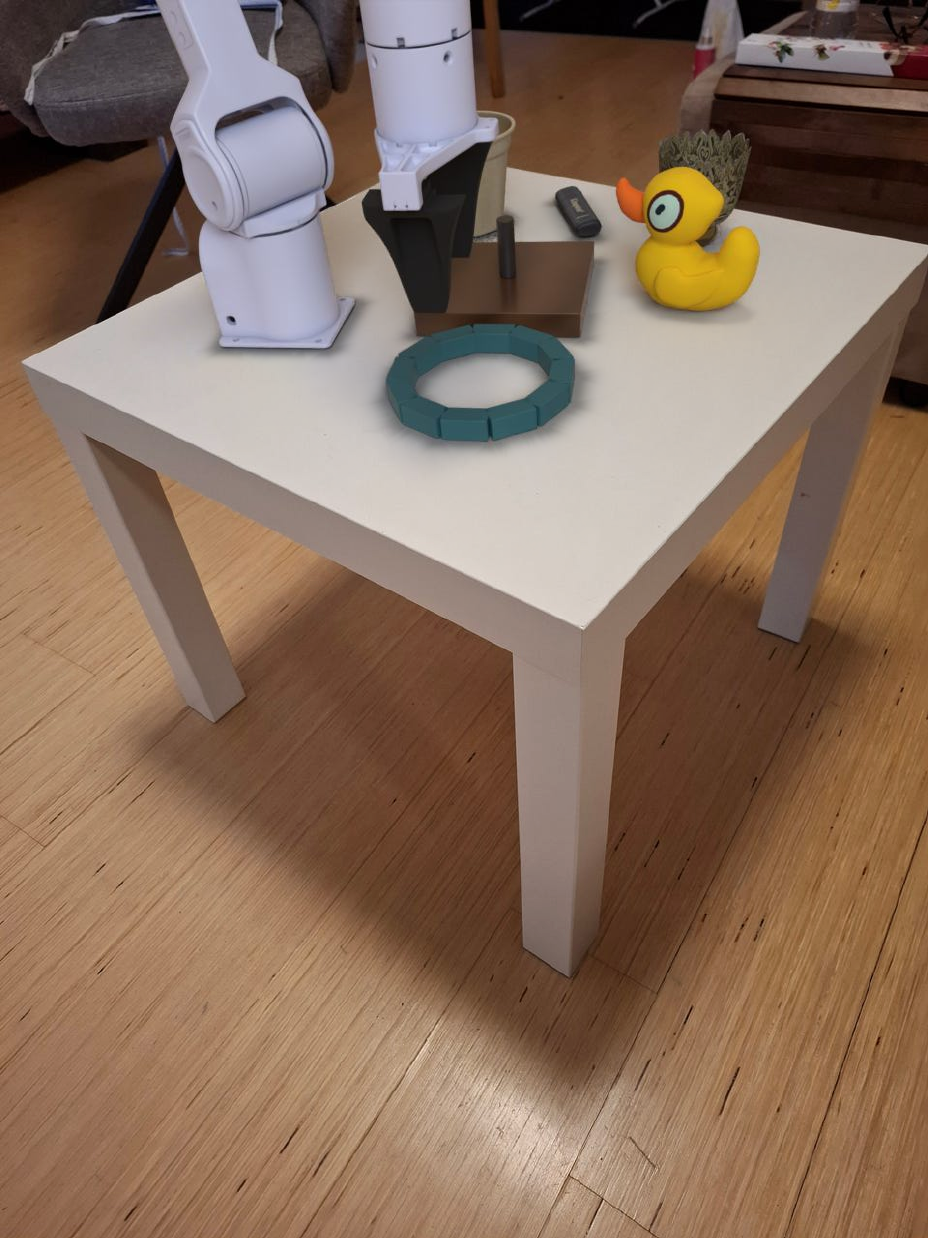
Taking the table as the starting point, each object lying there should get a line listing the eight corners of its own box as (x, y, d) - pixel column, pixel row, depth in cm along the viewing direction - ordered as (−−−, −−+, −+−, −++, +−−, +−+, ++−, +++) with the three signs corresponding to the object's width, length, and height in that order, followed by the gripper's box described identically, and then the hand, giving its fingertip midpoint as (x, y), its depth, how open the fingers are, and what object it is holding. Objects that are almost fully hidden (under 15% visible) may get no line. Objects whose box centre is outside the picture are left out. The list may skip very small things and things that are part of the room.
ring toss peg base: (416, 336, 70) (405, 255, 65) (448, 264, 78) (440, 188, 74) (580, 337, 67) (581, 253, 63) (594, 263, 76) (595, 184, 71)
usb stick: (553, 202, 86) (553, 186, 85) (579, 199, 86) (579, 182, 85) (575, 241, 80) (575, 223, 78) (603, 236, 80) (604, 219, 79)
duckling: (598, 306, 70) (601, 175, 63) (626, 278, 73) (632, 150, 66) (736, 333, 66) (756, 194, 59) (760, 301, 69) (782, 166, 62)
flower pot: (402, 235, 84) (388, 137, 78) (461, 199, 89) (453, 104, 83) (480, 253, 79) (473, 151, 73) (538, 215, 84) (536, 116, 78)
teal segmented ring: (371, 437, 60) (367, 417, 59) (413, 341, 69) (410, 322, 68) (563, 444, 58) (562, 423, 57) (581, 343, 67) (581, 324, 65)
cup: (738, 258, 74) (752, 157, 68) (650, 258, 76) (656, 159, 70) (737, 222, 79) (750, 126, 73) (654, 223, 81) (661, 128, 75)
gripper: (466, 71, 41) (484, 339, 51) (513, -3, 51) (521, 233, 60) (323, 77, 42) (368, 337, 52) (395, 3, 52) (422, 234, 62)
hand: (443, 281), depth 56 cm, fingers open, 7 cm apart
